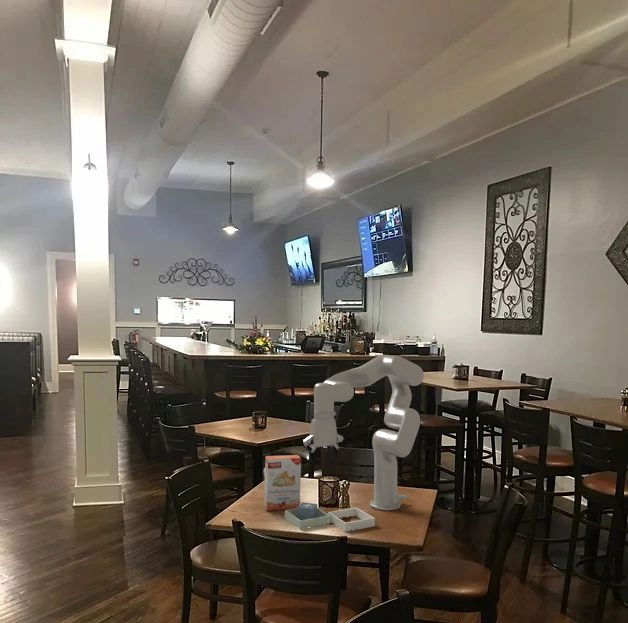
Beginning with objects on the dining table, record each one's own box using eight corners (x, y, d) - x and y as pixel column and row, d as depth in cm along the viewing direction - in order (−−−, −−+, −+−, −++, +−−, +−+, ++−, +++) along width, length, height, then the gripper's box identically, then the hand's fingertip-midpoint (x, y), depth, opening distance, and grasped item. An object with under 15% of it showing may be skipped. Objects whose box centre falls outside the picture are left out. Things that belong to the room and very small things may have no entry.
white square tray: (356, 515, 219) (356, 507, 219) (374, 526, 208) (374, 518, 208) (327, 520, 213) (327, 512, 213) (345, 531, 201) (345, 523, 201)
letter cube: (302, 517, 215) (302, 501, 215) (317, 519, 213) (317, 503, 214) (297, 523, 209) (297, 506, 210) (312, 525, 208) (312, 508, 208)
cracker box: (266, 511, 221) (267, 459, 221) (263, 506, 227) (264, 455, 227) (300, 509, 225) (301, 457, 225) (296, 504, 230) (297, 454, 231)
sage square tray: (314, 513, 220) (314, 505, 220) (330, 524, 209) (330, 516, 209) (284, 518, 214) (284, 510, 214) (299, 529, 203) (300, 521, 203)
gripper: (337, 412, 218) (337, 455, 218) (299, 415, 209) (298, 461, 209) (348, 415, 211) (347, 460, 211) (308, 419, 203) (308, 465, 202)
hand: (323, 460), depth 210 cm, fingers open, 9 cm apart
